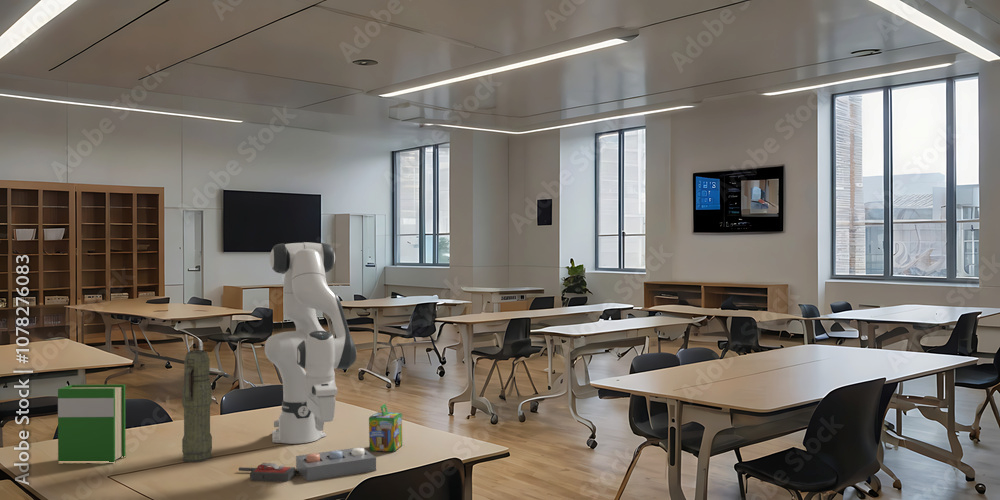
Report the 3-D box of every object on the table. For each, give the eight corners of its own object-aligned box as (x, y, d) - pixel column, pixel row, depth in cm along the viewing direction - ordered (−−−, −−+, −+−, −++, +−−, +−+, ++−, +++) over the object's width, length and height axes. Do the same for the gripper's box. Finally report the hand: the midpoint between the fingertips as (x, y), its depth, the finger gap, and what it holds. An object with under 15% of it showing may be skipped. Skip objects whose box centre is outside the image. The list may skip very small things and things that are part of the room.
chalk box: (394, 452, 243) (394, 408, 243) (368, 451, 245) (368, 407, 245) (403, 445, 252) (403, 402, 252) (378, 444, 254) (378, 401, 254)
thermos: (175, 463, 231) (175, 353, 231) (191, 453, 243) (191, 348, 243) (202, 463, 231) (202, 353, 231) (218, 453, 243) (217, 348, 243)
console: (296, 468, 225) (296, 455, 225) (361, 459, 235) (361, 447, 235) (307, 481, 212) (307, 467, 212) (376, 470, 222) (376, 457, 222)
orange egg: (304, 464, 221) (304, 454, 221) (318, 462, 223) (318, 452, 223) (308, 467, 217) (308, 457, 217) (321, 465, 219) (321, 455, 219)
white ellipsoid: (349, 458, 228) (349, 448, 228) (362, 456, 230) (362, 447, 230) (353, 461, 224) (353, 451, 224) (366, 459, 226) (366, 450, 226)
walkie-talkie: (302, 474, 220) (240, 472, 223) (302, 459, 220) (240, 457, 223) (290, 483, 212) (226, 481, 214) (290, 468, 212) (226, 466, 214)
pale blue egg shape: (327, 461, 224) (327, 451, 224) (340, 459, 226) (340, 449, 226) (331, 464, 221) (331, 454, 221) (344, 462, 223) (344, 452, 223)
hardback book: (125, 457, 239) (125, 384, 239) (113, 463, 231) (113, 388, 231) (71, 457, 238) (71, 384, 239) (58, 464, 231) (57, 388, 231)
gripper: (302, 379, 230) (301, 422, 230) (317, 392, 212) (316, 439, 212) (321, 377, 233) (321, 420, 233) (339, 390, 215) (338, 436, 215)
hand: (319, 429), depth 223 cm, fingers closed
